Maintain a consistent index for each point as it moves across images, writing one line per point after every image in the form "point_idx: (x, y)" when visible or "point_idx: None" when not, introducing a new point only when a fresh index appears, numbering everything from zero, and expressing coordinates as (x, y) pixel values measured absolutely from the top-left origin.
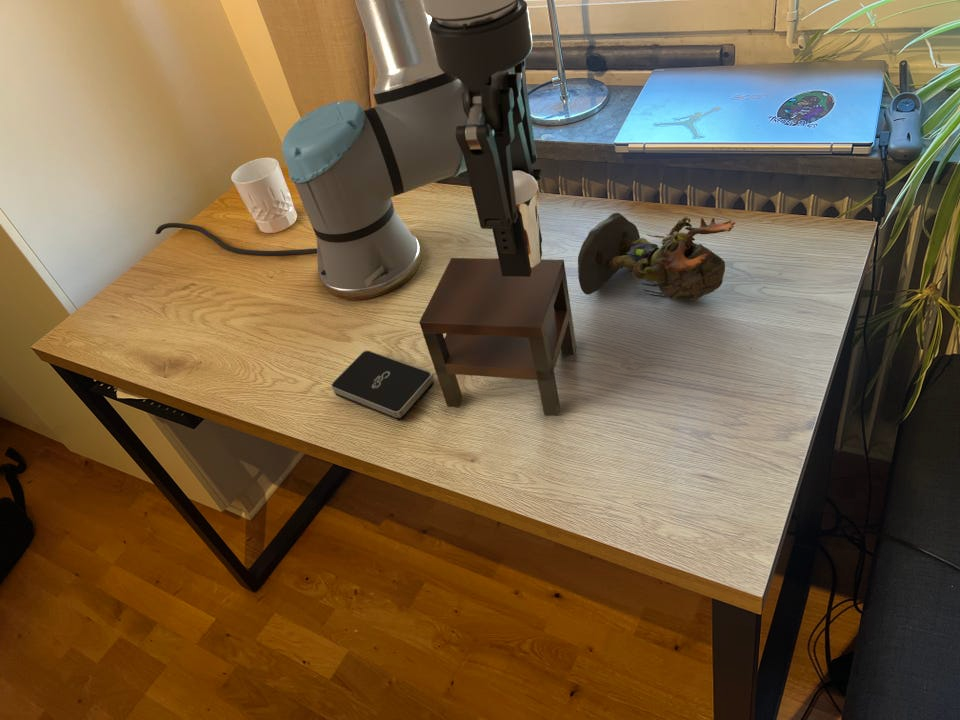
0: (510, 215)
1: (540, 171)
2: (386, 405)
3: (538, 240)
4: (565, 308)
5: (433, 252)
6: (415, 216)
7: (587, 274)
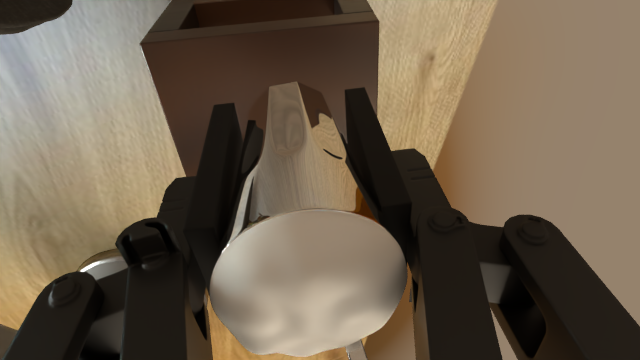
0: (509, 243)
1: (124, 238)
2: None
3: (304, 110)
4: (193, 8)
5: (81, 244)
6: (24, 290)
7: (37, 2)
